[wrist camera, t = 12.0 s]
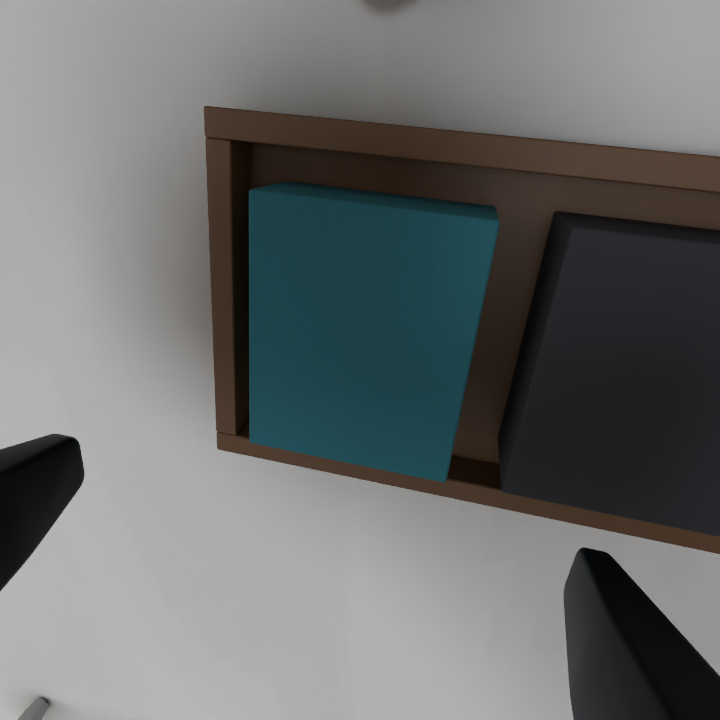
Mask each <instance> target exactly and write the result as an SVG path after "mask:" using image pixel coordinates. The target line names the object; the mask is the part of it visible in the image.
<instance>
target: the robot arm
mask: <svg viewBox="0 0 720 720" xmlns="http://www.w3.org/2000/svg"><path fill="white" fill-rule="evenodd" d="M83 480H84V467H83V461H82V456H81V450H80V445H79V442H78V441H77V439H75V438H74V437H70V436H65V435H61V434H51V435H47V436H44V437H41V438H37V439H34V440H31V441H27V442H24V443H21V444H17V445H14V446H11V447H8V448H4V449H1V450H0V591H1V590H2V589H3V587H4V586H5V585H6V584H7V583H8V582H9V580H10V579H11V578H12V577H13V576H14V575H15V574H16V572H17V571H18V570H19V569H20V568H21V567H22V565H23V564H24V563H25V562H26V560H27V559H28V558H29V557H30V556H31V554H32V553H33V552H34V550H35V549H36V548H37V546H38V545H39V544H40V542H41V541H42V539H43V538H44V537H45V535H46V534H47V532H48V531H49V530H50V528H51V527H52V526H53V524H54V523H55V521H56V520H57V519H58V517H59V516H60V514H61V513H62V512H63V510H64V509H65V507H66V506H67V505H68V503H69V502H70V501H71V499H72V498H73V496H74V495H75V494H76V492H77V491H78V489H79V488H80V486H81V485H82V482H83ZM564 609H565V625H566V641H567V656H568V672H569V686H570V697H571V704H572V711H573V718H574V720H720V676H719V675H718V674H717V672H716V671H715V670H714V669H713V668H712V667H711V666H710V665H709V664H708V663H707V661H706V660H705V659H704V658H703V657H702V656H701V655H700V654H699V653H698V651H697V650H696V649H695V648H694V647H693V646H692V645H691V644H690V643H689V642H688V640H687V639H686V638H685V637H684V636H683V635H682V634H681V633H680V632H679V630H678V629H677V628H676V627H675V626H674V625H673V624H672V623H671V622H670V621H669V619H668V618H667V617H666V616H665V615H664V614H663V613H662V612H661V611H660V609H659V608H658V607H657V606H656V605H655V604H654V603H653V602H652V601H651V600H650V598H649V597H648V596H647V595H646V594H645V593H644V592H643V591H642V590H641V588H640V587H639V586H638V585H637V584H636V583H635V582H634V581H633V580H632V579H631V577H630V576H629V575H628V574H627V573H626V572H625V571H624V570H623V569H622V567H621V566H620V565H619V564H618V563H617V562H616V561H615V560H614V559H613V558H612V557H611V556H610V555H609V554H608V553H606V552H603V551H598V550H594V549H589V548H581V549H579V551H578V552H577V554H576V556H575V559H574V562H573V564H572V567H571V570H570V572H569V575H568V578H567V580H566V583H565V588H564Z"/></svg>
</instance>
